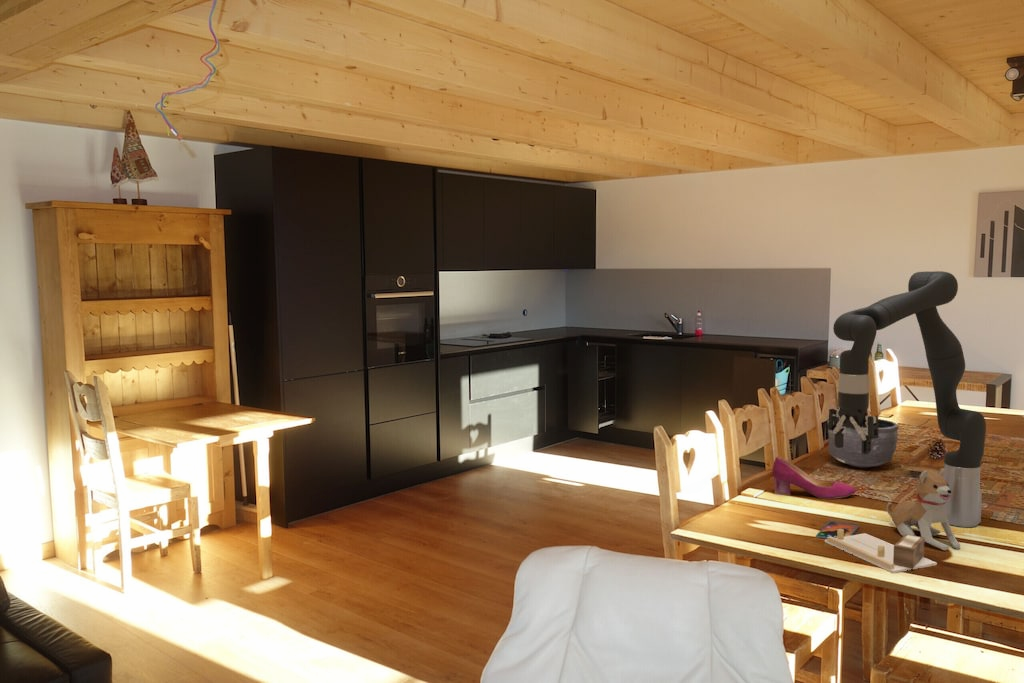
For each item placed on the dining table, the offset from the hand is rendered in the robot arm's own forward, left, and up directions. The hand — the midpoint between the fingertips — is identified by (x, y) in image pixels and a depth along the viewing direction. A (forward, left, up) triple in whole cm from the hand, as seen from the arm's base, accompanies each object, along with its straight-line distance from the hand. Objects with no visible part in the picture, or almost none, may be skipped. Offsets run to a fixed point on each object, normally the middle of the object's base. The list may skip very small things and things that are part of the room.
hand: (852, 450), depth 213 cm
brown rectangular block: (-5, +15, -26) cm, 30 cm away
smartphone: (-5, -10, -27) cm, 29 cm away
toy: (-23, +1, -27) cm, 35 cm away
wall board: (-3, +7, -26) cm, 27 cm away
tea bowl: (-66, -66, -27) cm, 98 cm away
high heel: (-24, -43, -27) cm, 56 cm away
